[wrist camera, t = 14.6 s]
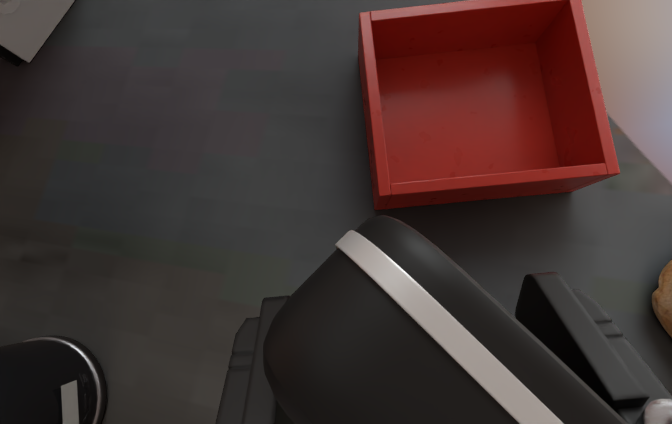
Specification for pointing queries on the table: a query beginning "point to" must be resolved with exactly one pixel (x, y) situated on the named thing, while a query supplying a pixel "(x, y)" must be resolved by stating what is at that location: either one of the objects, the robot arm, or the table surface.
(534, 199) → the table surface
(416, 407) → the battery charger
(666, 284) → the stone cup
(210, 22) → the table surface
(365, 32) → the open red box
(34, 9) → the hinge
